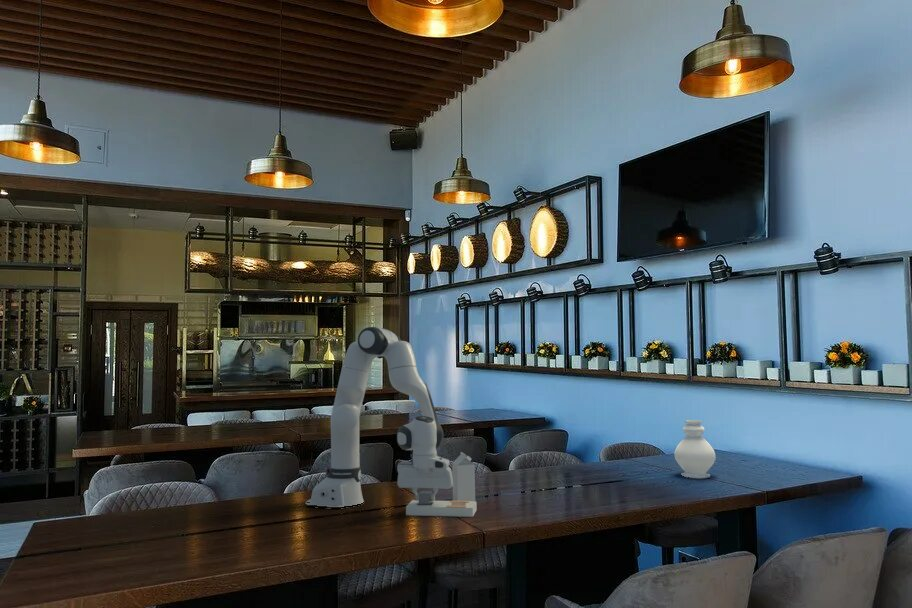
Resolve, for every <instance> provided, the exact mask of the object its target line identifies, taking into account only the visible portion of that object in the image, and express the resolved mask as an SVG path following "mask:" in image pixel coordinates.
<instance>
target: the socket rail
mask: <svg viewBox="0 0 912 608" xmlns="http://www.w3.org/2000/svg"><path fill="white" fill-rule="evenodd" d="M477 506H478V505H477V501H476V500H475V501H459V500H453V499H452V500H435V501H432V505H419V501H416V499H412V500H411V501H410V502H409V503H408V504H407V505H406V506H405V516H424V517H425V516H426V517H429V516H431V517H460V518H461V517H465V518H466V517H469V518H471V517H474V515H475V514H476V512H477V509H478V508H477Z"/></svg>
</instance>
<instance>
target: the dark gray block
mask: <svg viewBox="0 0 912 608" xmlns="http://www.w3.org/2000/svg"><path fill="white" fill-rule="evenodd" d="M418 495H419V505H432V501H430V499H431V498H430V496H431V495H433V490H429V491H428V490H421V491H420V492H419V493H418Z"/></svg>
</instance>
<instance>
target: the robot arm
mask: <svg viewBox="0 0 912 608" xmlns="http://www.w3.org/2000/svg"><path fill="white" fill-rule="evenodd" d="M376 358H377V359H384V358H385V360H386V363H387V372H388V379H389V382H390V384H391V386H392V387H393V389H395V390H396V391H398V392H399V393H402V394H404V395H407V396H409V397H412V398H413V399H415V401H417V403H418V405H419V410H420V414H421V415H419V416H415V417H414V418H413V420H412V421H411V422H409V423H406V424H404V425H401V426H400V427H399V428H398V430H397V432H396V443H397V445H398V447H400V448H401V450H404V451H412V461H400V462H398V464H397V466H396V467H397V473H398V475H397V481H396V482H397V483H396V484H397V486H398V488H400V489H401V488H402V489H405V488H406V489H407V488H408V489H411V490H412V493H413V495H414V496H415V500H416V501H419V493H418V489H432V492H433V493H432V495H431V496H430V498H431V499H430V501H436V494H437V493H438V492H439V489H447V490H449V489H452V488H453V474H452V469H451V468H452V467H450V459H448V458H445V457H441V456H439V455H438V451H437V448H439V446H440V445H441V444H442V442H443V440H444V430H443V428H442V426H441V423H440V421H439V418H438V416H437V413H436V409H435V405H434V402H433V398H432V396H431V391H430V389H429V387H428V385H427V383H426V382H425V381H423V379H422V378H421V376H420V374H419V371H418V368H417V360H416V356H415V353H414V349H413V347H412V344H411V343H409V342H408V341H405V340H402V339H401V337H400V336H399V335H398V334H397V333H396V332H394V331H392V330H389V329H387V328H382V327H381V328H380V327H376V326H368V327H365V328H362V330H361V331H360V332H359V333H358V336H357V341H353V342H352V343H350V344H349V346H348V348H347V350H346V353H345V356H344V359H343V362H342V366H341V371H340V375H339V379H338V382H337V383H338V384H337V388H336V392H335V398H334V400H333V401H334V402H333V406H332V411H331V415H330V465H331V466H329V467H328V468H327V469H326V470H325V474H326V477H325V478H324V479H322V480H321V481H320V482H319V483H317V484H316V486H315V487H313V489H312V492H311V495H310V496H311V498H309V499H308V500H306V501H305V504H307V505H317V506H327V507H344V506H352V505H357V504H361V503H363V502H364V503H365V500H364V498H363V492H362V486H361V485H362V484H361V479H362V471H361V469H362V468H361V467H362V466H361V465H360V464H361V463H360V459H361V457H360V456H361V454H360V415H361V410H362V406H363V402H364V398H365V393H366V390H367V385H368V381H369V377H370V376H369V375H370V371H371V367H372V362H373V361H374V360H375V359H376ZM307 502H310V503H307ZM364 503H363V504H364ZM361 505H362V504H361Z"/></svg>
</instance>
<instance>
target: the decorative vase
mask: <svg viewBox="0 0 912 608" xmlns="http://www.w3.org/2000/svg"><path fill="white" fill-rule="evenodd" d="M684 422H685V425H684V426H683V428H682V431H683V433H684V434H685V435H686V436H684V438H682V440H680V442H679V443H678V444H677V446H676V448H675V449H674V454H673V455H674V459H675V461H676V463H677V464H678V465H679V467H680V468H681V469H682V470H683V472H682V473H680V475H682V476H681V477H683V476H684V477H683V478H688V477H689V478H688V479H708V478H711V474H709V473H707V472H708V471H709V470H710V469H711V467H712V466H713V465H714V463H715V462H716V457H717V455H716V452H715V449H714V448H713V446H712V445H711V444H710V442H708V441H707V440H706V439H705V438H704V437H703V436H702V435H703V434H704V433H705V427H704V426H703V425H701V424H703V420H698V419H686V420H684Z"/></svg>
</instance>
